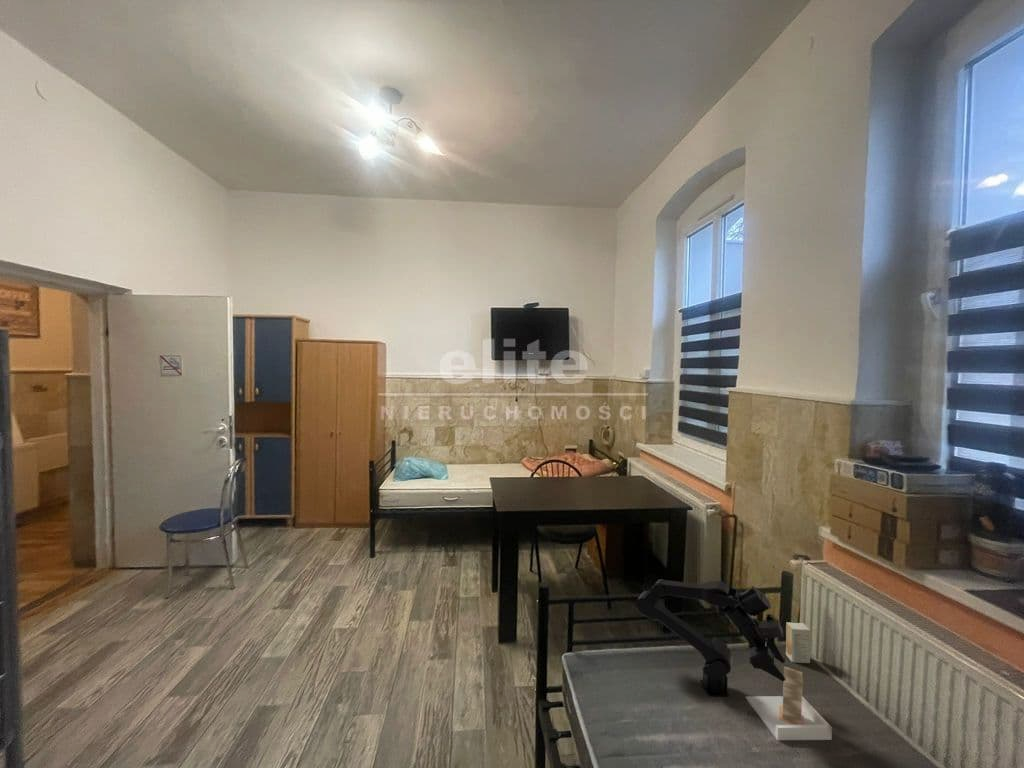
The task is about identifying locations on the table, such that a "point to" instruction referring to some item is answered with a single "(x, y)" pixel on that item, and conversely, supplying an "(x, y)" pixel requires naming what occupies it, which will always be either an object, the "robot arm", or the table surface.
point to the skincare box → (798, 642)
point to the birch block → (792, 695)
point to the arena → (784, 729)
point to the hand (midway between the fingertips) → (784, 671)
